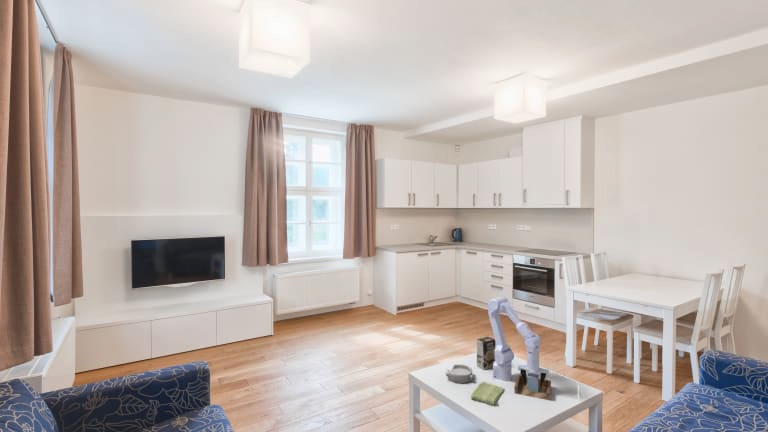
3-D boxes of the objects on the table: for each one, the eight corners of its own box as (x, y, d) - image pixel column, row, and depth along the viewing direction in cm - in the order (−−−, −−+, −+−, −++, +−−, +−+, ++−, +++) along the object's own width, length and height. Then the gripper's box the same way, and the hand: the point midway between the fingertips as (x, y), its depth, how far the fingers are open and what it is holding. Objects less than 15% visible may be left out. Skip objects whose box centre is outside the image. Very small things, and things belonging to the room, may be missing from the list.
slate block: (527, 390, 188) (527, 376, 188) (528, 386, 192) (528, 372, 192) (538, 392, 186) (538, 378, 185) (538, 387, 190) (538, 374, 190)
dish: (444, 382, 201) (444, 372, 200) (449, 370, 214) (449, 362, 213) (472, 386, 195) (472, 376, 195) (475, 374, 208) (475, 365, 208)
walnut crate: (514, 395, 185) (514, 386, 185) (517, 382, 198) (517, 374, 198) (549, 402, 178) (549, 393, 178) (551, 389, 191) (551, 380, 191)
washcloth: (506, 391, 190) (506, 385, 190) (495, 408, 175) (495, 401, 175) (480, 385, 197) (480, 379, 197) (468, 400, 182) (468, 393, 182)
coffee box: (484, 370, 213) (483, 342, 212) (476, 366, 219) (476, 338, 218) (496, 366, 217) (495, 339, 217) (488, 362, 223) (488, 336, 222)
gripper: (516, 360, 188) (517, 386, 189) (548, 365, 182) (548, 392, 182) (518, 354, 194) (518, 380, 195) (549, 359, 188) (549, 386, 188)
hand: (533, 386), depth 189 cm, fingers open, 7 cm apart
